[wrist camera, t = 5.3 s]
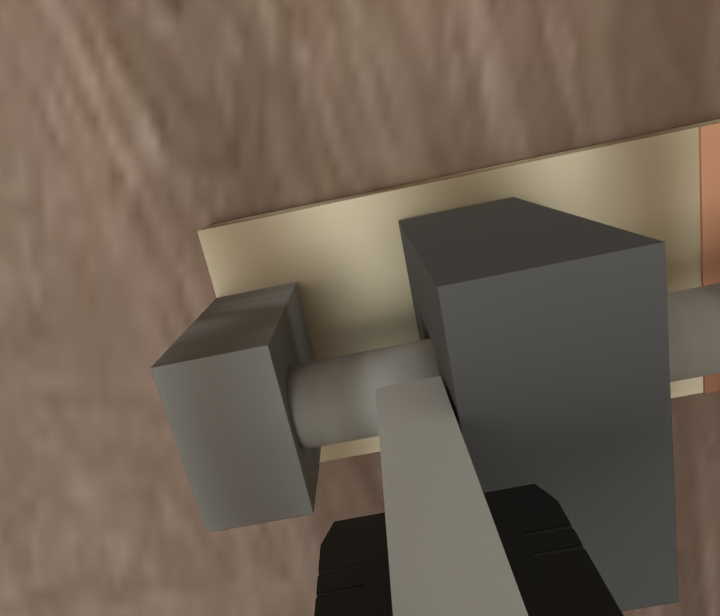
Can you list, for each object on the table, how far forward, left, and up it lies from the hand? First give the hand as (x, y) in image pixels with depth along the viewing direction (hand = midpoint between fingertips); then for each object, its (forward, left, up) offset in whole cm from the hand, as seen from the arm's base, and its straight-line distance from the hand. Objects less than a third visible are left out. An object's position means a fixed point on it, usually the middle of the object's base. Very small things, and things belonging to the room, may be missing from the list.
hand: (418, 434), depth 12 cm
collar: (+3, 0, -7) cm, 8 cm away
